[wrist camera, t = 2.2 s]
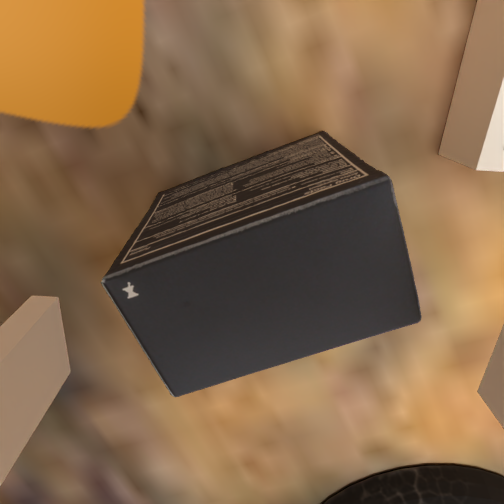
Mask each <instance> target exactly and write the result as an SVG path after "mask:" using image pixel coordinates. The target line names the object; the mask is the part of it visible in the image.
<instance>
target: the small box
mask: <svg viewBox="0 0 504 504" xmlns="http://www.w3.org/2000/svg"><path fill="white" fill-rule="evenodd" d="M101 284H102V286H103V287H104V289H105V290H106V292H107V294H108V295H109V296H110V298H111V300H112V301H113V303H114V304H115V305H116V307H117V309H118V311H119V312H120V314H121V315H122V317H123V318H124V320H125V322H126V324H127V325H128V327H129V328H130V330H131V331H132V333H133V335H134V336H135V338H136V339H137V341H138V342H139V344H140V346H141V347H142V349H143V351H144V352H145V354H146V355H147V357H148V359H149V360H150V362H151V364H152V365H153V367H154V368H155V370H156V371H157V373H158V374H159V376H160V378H161V380H162V381H163V382H164V384H165V386H166V387H167V389H168V390H169V392H170V394H171V395H172V396H174V397H179V396H181V395H184V394H188V393H191V392H194V391H197V390H201V389H204V388H207V387H211V386H214V385H217V384H220V383H223V382H226V381H229V380H232V379H236V378H239V377H242V376H245V375H248V374H252V373H255V372H258V371H261V370H265V369H268V368H271V367H274V366H278V365H281V364H284V363H287V362H291V361H294V360H297V359H300V358H304V357H307V356H310V355H313V354H316V353H320V352H323V351H326V350H329V349H333V348H336V347H339V346H342V345H346V344H349V343H352V342H355V341H359V340H362V339H365V338H369V337H372V336H375V335H379V334H382V333H385V332H389V331H392V330H395V329H398V328H402V327H405V326H408V325H412V324H415V323H418V322H420V320H421V311H420V305H419V299H418V295H417V290H416V285H415V282H414V276H413V272H412V267H411V262H410V258H409V254H408V249H407V245H406V241H405V236H404V231H403V227H402V223H401V219H400V215H399V210H398V206H397V202H396V198H395V193H394V188H393V184H392V181H391V179H390V177H389V176H388V175H387V174H385V173H383V172H381V171H379V170H376V169H375V168H373V167H372V166H369V165H368V164H367V163H365V162H364V161H363V160H360V158H359V157H357V156H356V155H355V154H354V153H352V152H350V151H349V150H348V149H347V148H345V147H344V146H342V145H341V144H340V143H338V142H337V141H336V140H334V139H333V138H332V137H330V136H329V134H328V133H327V132H325V131H322V132H319V133H317V134H314V135H312V136H308V137H306V138H303V139H300V140H298V141H295V142H292V143H289V144H287V145H284V146H282V147H279V148H276V149H274V150H271V151H266V152H265V153H263V154H260V155H258V156H255V157H252V158H250V159H247V160H245V161H242V162H239V163H237V164H233V165H231V166H228V167H226V168H221V169H219V170H217V171H215V172H212V173H210V174H207V175H204V176H202V177H199V178H196V179H194V180H191V181H189V182H186V183H184V184H181V185H179V186H176V187H174V188H171V189H168V190H166V191H163V192H160V193H158V195H157V196H156V198H155V200H154V202H153V204H152V205H151V207H150V209H149V211H148V212H147V213H146V215H145V217H144V218H143V220H142V221H141V223H140V224H139V226H138V227H137V228H136V229H135V231H134V233H133V234H132V235H131V237H130V239H129V240H128V241H127V243H126V245H125V246H124V248H123V249H122V251H121V252H120V254H119V256H118V257H117V258H116V260H115V261H114V263H113V264H112V266H111V267H110V269H109V271H108V272H107V273H106V275H105V276H104V277H103V279H102V282H101Z"/></svg>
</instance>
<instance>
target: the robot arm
mask: <svg viewBox="0 0 504 504" xmlns="http://www.w3.org/2000/svg"><path fill="white" fill-rule="evenodd" d="M70 372H71V370H70V364H69V358H68V352H67V346H66V340H65V334H64V328H63V322H62V316H61V310H60V304H59V298H58V297H49V296H31V297H30V298H29V299H28V300H27V301H26V302H25V303H23V304H22V305H21V306H20V307H19V308H18V309H17V310H16V311H15V312H14V313H13V314H12V315H11V316H10V317H9V318H8V319H7V320H6V321H5V322H4V323H3V324H2V325H1V326H0V486H1V484H2V483H3V481H4V480H5V478H6V476H7V475H8V473H9V471H10V470H11V468H12V467H13V465H14V463H15V462H16V460H17V458H18V457H19V455H20V454H21V452H22V450H23V449H24V447H25V445H26V444H27V442H28V441H29V439H30V437H31V436H32V434H33V432H34V431H35V429H36V428H37V426H38V424H39V423H40V421H41V419H42V418H43V416H44V415H45V413H46V411H47V410H48V408H49V406H50V405H51V403H52V402H53V400H54V398H55V397H56V395H57V393H58V392H59V390H60V389H61V387H62V385H63V384H64V382H65V380H66V379H67V377H68V376H69V374H70ZM477 392H478V393H479V395H480V396H481V397H482V399H483V400H484V402H485V403H486V404H487V406H488V407H489V409H490V410H491V411H492V413H493V414H494V416H495V417H496V418H497V420H498V421H499V423H500V424H501V425H502V427H503V428H504V325H503V328H502V330H501V333H500V335H499V338H498V340H497V343H496V345H495V348H494V350H493V353H492V356H491V358H490V361H489V363H488V366H487V368H486V371H485V373H484V376H483V378H482V381H481V384H480V386H479V389H478V391H477Z"/></svg>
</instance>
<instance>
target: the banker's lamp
mask: <svg viewBox="0 0 504 504" xmlns="http://www.w3.org/2000/svg"><path fill="white" fill-rule="evenodd" d="M324 504H504V478H503V477H502V476H499V475H496V474H493V473H490V472H487V471H483V470H480V469H475V468H468V467H461V466H420V467H413V468H405V469H399V470H395V471H391V472H387V473H384V474H380V475H376V476H373V477H371V478H368V479H366V480H364V481H361V482H359V483H356V484H354V485H352V486H350V487H348V488H346V489H345V490H343V491H341V492H340V493H338V494H336V495H335V496H333V497H331V498H330V499H328V500H327V501H326V502H325V503H324Z"/></svg>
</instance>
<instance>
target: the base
mask: <svg viewBox="0 0 504 504" xmlns="http://www.w3.org/2000/svg"><path fill="white" fill-rule="evenodd" d="M438 155H440V156H443V157H445V158H448V159H450V160H453V161H455V162H457V163H460V164H462V165H465V166H467V167H470V168H472V169H475V170H483V171H500V172H504V0H477V4H476V7H475V11H474V15H473V19H472V23H471V27H470V31H469V35H468V39H467V43H466V47H465V51H464V55H463V59H462V62H461V66H460V70H459V74H458V78H457V82H456V86H455V90H454V94H453V98H452V102H451V106H450V110H449V114H448V117H447V121H446V125H445V129H444V133H443V137H442V141H441V145H440V149H439V153H438Z"/></svg>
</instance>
